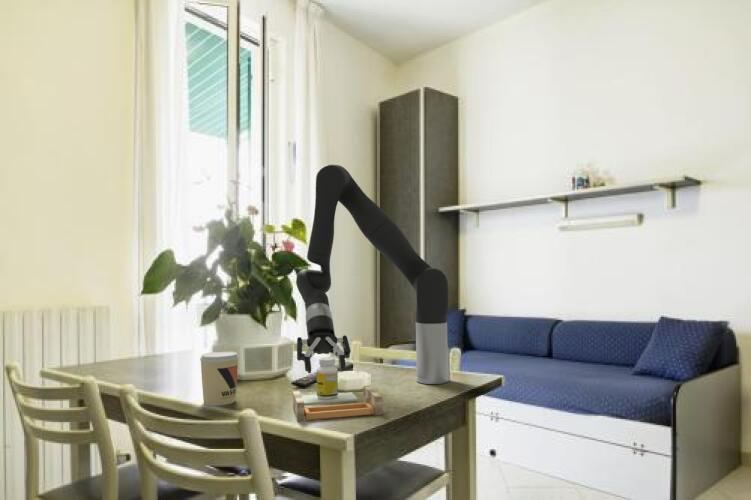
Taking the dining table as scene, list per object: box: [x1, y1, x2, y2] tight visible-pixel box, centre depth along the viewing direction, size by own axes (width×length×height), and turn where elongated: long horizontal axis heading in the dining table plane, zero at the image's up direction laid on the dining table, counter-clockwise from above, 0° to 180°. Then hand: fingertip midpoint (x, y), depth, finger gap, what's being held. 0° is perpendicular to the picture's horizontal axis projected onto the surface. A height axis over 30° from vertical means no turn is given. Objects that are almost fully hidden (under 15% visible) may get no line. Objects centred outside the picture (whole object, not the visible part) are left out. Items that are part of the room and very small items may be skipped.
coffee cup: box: [199, 351, 239, 407], centre depth 131 cm, size 9×9×12 cm
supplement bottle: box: [316, 356, 339, 399], centre depth 133 cm, size 5×5×10 cm
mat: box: [301, 391, 359, 406], centre depth 132 cm, size 8×14×1 cm, turn 104°
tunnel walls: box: [291, 385, 383, 423], centre depth 120 cm, size 12×19×4 cm, turn 104°
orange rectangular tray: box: [304, 402, 374, 422], centre depth 117 cm, size 6×15×2 cm, turn 104°
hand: (326, 370), depth 135 cm, fingers open, 8 cm apart
